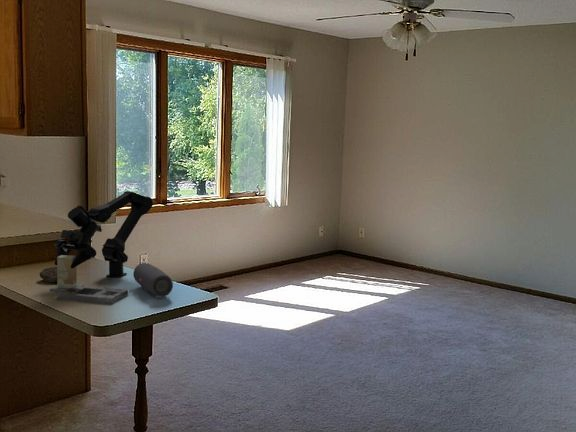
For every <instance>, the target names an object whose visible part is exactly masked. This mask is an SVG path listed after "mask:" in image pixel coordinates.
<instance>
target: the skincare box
mask: <svg viewBox="0 0 576 432" xmlns="http://www.w3.org/2000/svg"><path fill="white" fill-rule="evenodd" d="M76 256H77V255H71V254H69V255H61V256H59V257H57V265H56V266H57V282H56V283H57V286H58V288H71V287H74V286H77V284H78V283H77V282H78V277H77V276H78V275H77V274H78V273H77V272H78V270H77V269H78V268H77V267H78V266H76V267H74V268H73V269H72V268H71V267H70V266H71V264H72V263H73V261H74V259H75V257H76Z"/></svg>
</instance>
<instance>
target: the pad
mask: <svg viewBox="0 0 576 432" xmlns="http://www.w3.org/2000/svg"><path fill="white" fill-rule="evenodd" d="M77 286H85V285H84V284H78V283H77ZM67 289H69V288H58V285H56V286H54V287H50V288H49V291H52V292H62V291H65V290H67Z"/></svg>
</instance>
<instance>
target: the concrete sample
mask: <svg viewBox="0 0 576 432" xmlns="http://www.w3.org/2000/svg"><path fill="white" fill-rule="evenodd" d="M39 277H40V278H41V279H42V281H43V282H46V283H51V284H52V283H57V265H55V266H52V267H51V266H50V267H45V268H43V269H42V271H40V272H39Z"/></svg>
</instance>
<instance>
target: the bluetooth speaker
mask: <svg viewBox="0 0 576 432" xmlns="http://www.w3.org/2000/svg"><path fill="white" fill-rule="evenodd" d="M132 274H133V275H132V276H133V279H134V280H135V281H136V283H137V284H139V285H140V287H142V288H143V289H144V291H146V292H147V294H149V295H150V296H152V297H158V298H163V297H167V296H168V295H170V294H171V292H172V290H173V287H174V282H173V280H172V279H171V277H170V276H169V275H168V274H167V273H166V272H164V271H163V270H162V269H160V268H158V267H157V266H155V265H153V264H151V263H146V262H142V263H139V264H137V265H136V267H134V270H133V273H132Z"/></svg>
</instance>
